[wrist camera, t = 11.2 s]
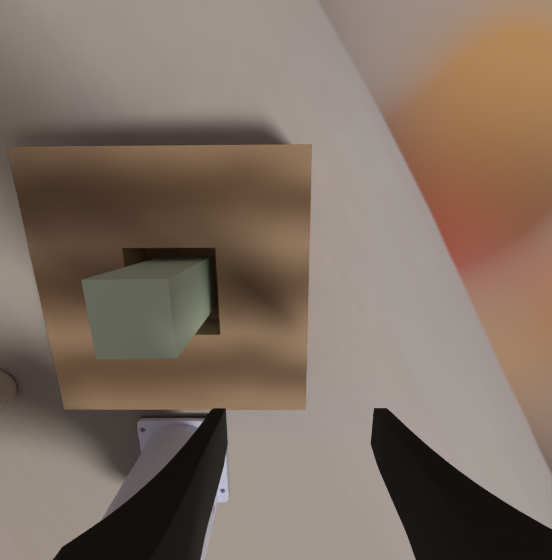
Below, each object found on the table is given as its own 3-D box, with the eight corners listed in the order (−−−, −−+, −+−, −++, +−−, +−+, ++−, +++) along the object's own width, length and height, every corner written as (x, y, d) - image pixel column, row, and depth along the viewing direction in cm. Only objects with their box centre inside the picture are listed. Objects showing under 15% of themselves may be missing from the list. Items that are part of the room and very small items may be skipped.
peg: (215, 306, 20) (177, 358, 13) (165, 306, 20) (96, 359, 13) (212, 256, 19) (168, 278, 12) (159, 256, 19) (81, 280, 12)
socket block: (300, 377, 23) (305, 409, 19) (100, 377, 23) (64, 409, 19) (304, 160, 19) (311, 144, 15) (62, 162, 19) (6, 146, 15)
